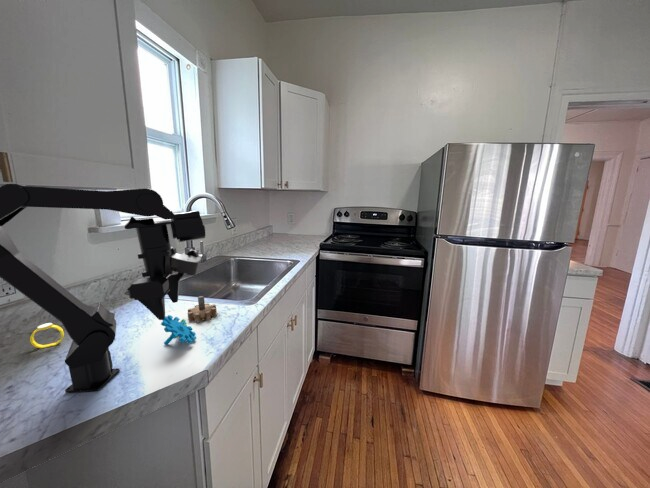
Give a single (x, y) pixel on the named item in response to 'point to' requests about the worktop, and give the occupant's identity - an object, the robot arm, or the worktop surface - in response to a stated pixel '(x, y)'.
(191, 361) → the worktop surface
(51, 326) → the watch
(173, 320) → the gear
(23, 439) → the worktop surface
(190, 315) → the gear
